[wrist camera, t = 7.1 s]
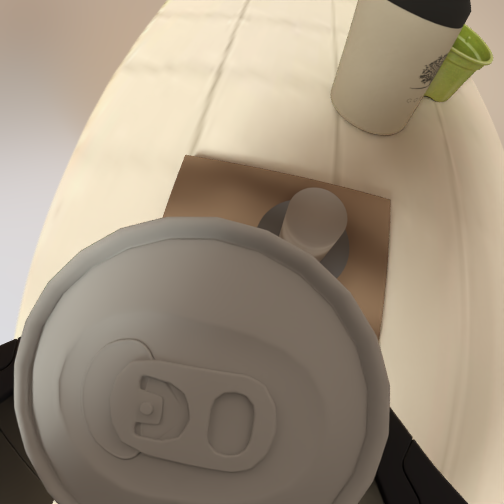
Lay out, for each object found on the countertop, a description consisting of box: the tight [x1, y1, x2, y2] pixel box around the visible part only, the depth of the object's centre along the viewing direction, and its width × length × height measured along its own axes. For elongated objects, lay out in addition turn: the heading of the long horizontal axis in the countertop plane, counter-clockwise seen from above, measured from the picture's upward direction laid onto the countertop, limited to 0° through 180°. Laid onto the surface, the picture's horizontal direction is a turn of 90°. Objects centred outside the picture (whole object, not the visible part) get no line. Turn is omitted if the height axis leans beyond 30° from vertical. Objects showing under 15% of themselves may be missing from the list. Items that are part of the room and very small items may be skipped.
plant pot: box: [424, 24, 493, 102], centre depth 26 cm, size 9×9×9 cm
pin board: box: [163, 155, 390, 342], centre depth 18 cm, size 20×16×8 cm
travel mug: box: [331, 0, 471, 135], centre depth 19 cm, size 8×8×18 cm
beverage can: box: [14, 217, 390, 504], centre depth 9 cm, size 5×5×12 cm
